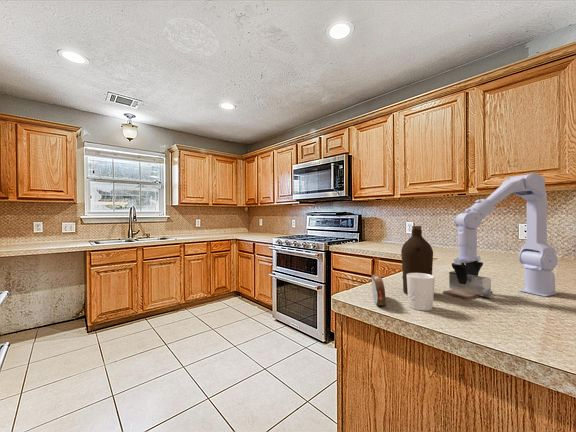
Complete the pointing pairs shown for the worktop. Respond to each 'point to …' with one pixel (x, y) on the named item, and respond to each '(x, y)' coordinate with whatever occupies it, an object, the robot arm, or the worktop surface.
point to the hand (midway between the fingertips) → (467, 282)
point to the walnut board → (461, 294)
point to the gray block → (471, 284)
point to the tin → (378, 290)
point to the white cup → (420, 291)
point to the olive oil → (416, 256)
